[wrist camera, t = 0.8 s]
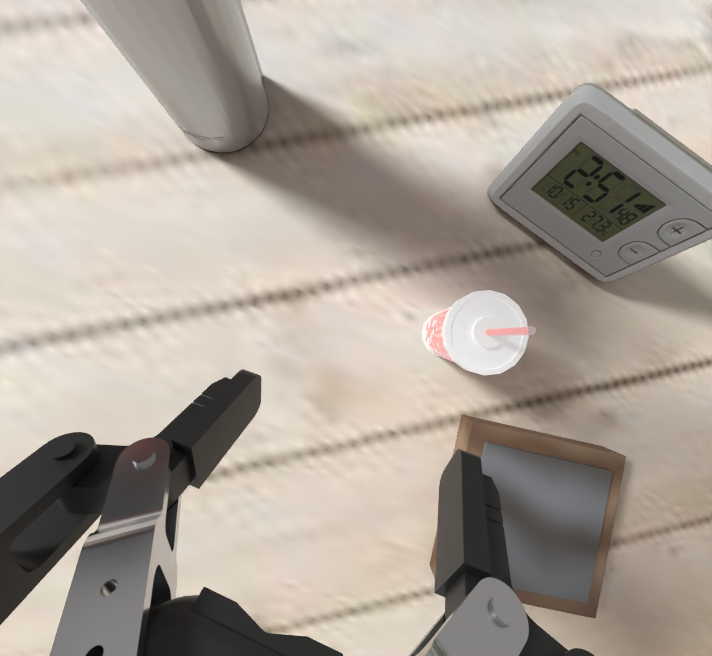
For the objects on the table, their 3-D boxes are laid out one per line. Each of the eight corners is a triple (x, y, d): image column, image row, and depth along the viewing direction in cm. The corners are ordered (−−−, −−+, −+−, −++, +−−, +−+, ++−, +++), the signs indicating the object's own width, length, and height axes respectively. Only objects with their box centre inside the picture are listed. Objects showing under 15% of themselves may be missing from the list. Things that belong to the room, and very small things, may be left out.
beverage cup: (441, 377, 30) (527, 410, 16) (402, 330, 30) (453, 323, 16) (486, 337, 30) (608, 337, 16) (447, 291, 30) (537, 252, 16)
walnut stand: (461, 414, 30) (475, 423, 27) (602, 446, 30) (631, 458, 27) (429, 564, 29) (439, 590, 26) (574, 594, 30) (600, 623, 27)
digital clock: (474, 192, 31) (543, 116, 20) (535, 137, 31) (633, 33, 21) (579, 307, 31) (703, 291, 20) (638, 249, 31) (790, 204, 21)
